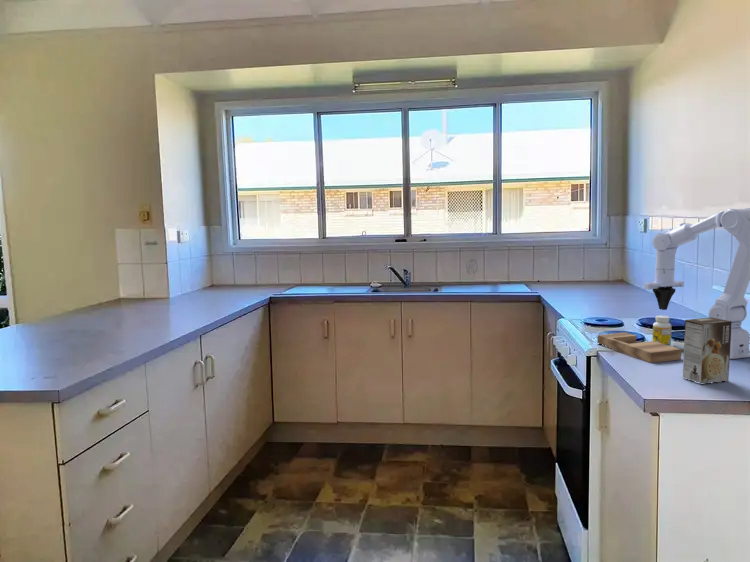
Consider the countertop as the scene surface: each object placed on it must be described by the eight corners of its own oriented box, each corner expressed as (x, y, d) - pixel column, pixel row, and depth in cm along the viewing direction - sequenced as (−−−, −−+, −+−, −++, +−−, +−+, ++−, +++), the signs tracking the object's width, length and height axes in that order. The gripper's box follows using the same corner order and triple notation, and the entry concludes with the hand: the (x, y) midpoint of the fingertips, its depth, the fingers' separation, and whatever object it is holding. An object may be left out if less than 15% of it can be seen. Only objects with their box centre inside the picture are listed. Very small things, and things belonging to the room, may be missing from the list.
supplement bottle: (673, 347, 189) (675, 318, 187) (656, 347, 189) (658, 318, 187) (665, 343, 194) (667, 314, 193) (649, 343, 194) (650, 315, 193)
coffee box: (709, 374, 160) (712, 316, 158) (729, 381, 154) (733, 321, 152) (681, 378, 157) (684, 319, 155) (700, 385, 151) (704, 324, 149)
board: (681, 359, 175) (681, 349, 175) (650, 362, 172) (650, 352, 172) (625, 341, 198) (625, 332, 198) (597, 344, 195) (597, 335, 195)
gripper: (673, 266, 202) (671, 305, 204) (638, 268, 198) (636, 308, 200) (689, 268, 195) (687, 309, 197) (653, 271, 191) (651, 312, 193)
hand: (662, 309), depth 198 cm, fingers closed
